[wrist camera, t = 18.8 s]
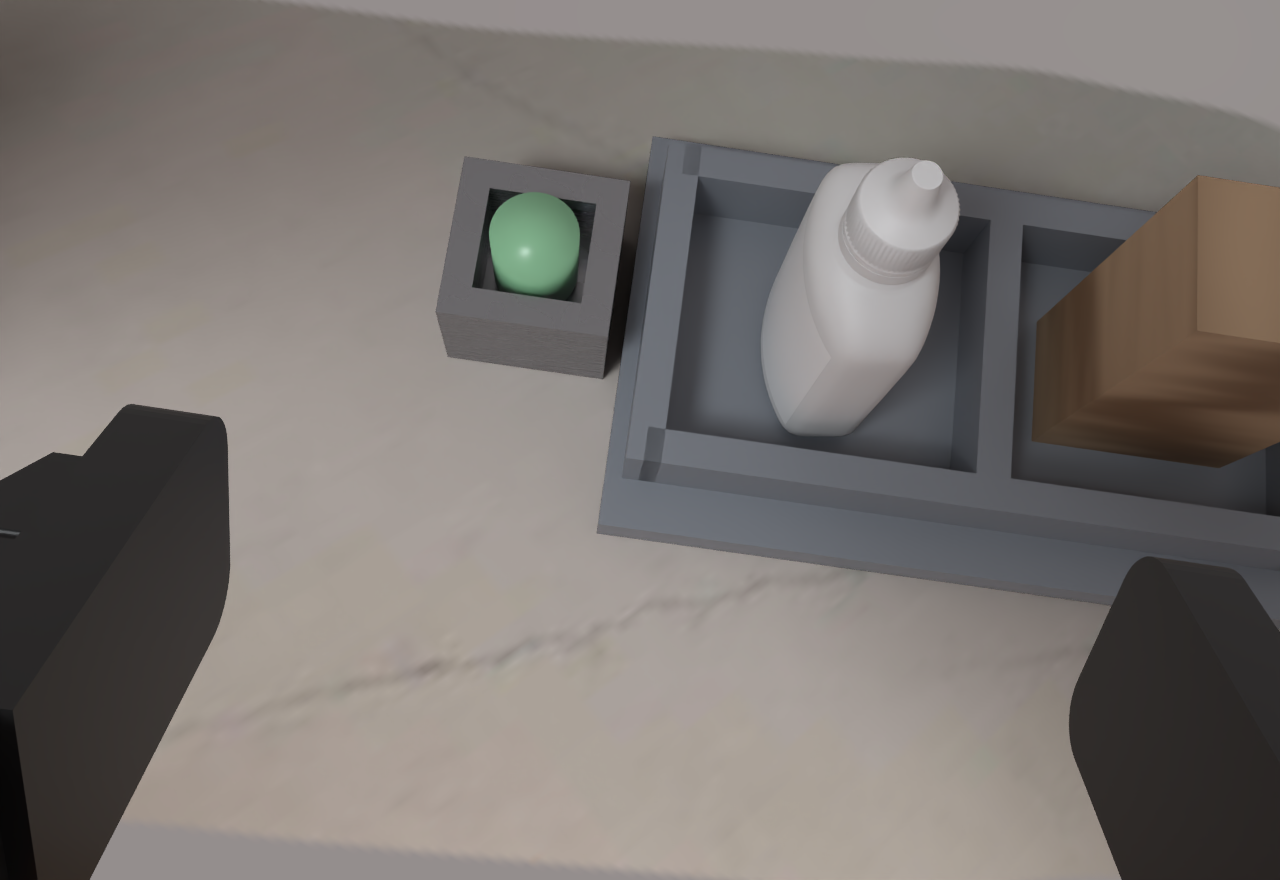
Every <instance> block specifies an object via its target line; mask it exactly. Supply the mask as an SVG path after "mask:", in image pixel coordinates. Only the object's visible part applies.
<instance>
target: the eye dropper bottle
mask: <svg viewBox="0 0 1280 880" xmlns="http://www.w3.org/2000/svg"><path fill="white" fill-rule="evenodd" d="M957 196H958V194H957V193H956V189H955V188H954V185H953V184H952V183H951V181H950V180H949V179H948V177H947V176H946V175H944V173H943V172H942V169H941V168H940V167H939V165H937V164H936V163H934V162H932V161H928V160H924V161H922V160H921V159H916V158H910V157H909V158H906V157H903V158H901V157H898V158H893V159H888V160H887V161H883V162H882V163H845V164H842V165H839V166H836V167H834V168H833V169H832V170H831V171H830V172H828V173H827V174H826V176H825V177H824V178H823V180H822V182H821V183H820V185H819V187H818V189H817V191H816V193H815V195H814V197H813V199H812V201H811V203H810V205H809V207H808V209H807V211H806V213H805V215H804V218H803V220H802V222H801V224H800V226H799V228H798V230H797V233H796V235H795V237H794V239H793V241H792V243H791V246H790V248H789V250H788V252H787V254H786V257H785V259H784V261H783V263H782V265H781V268H780V270H779V272H778V274H777V276H776V279H775V281H774V283H773V286H772V288H771V291H770V294H769V297H768V300H767V304H766V308H765V312H764V317H763V323H762V331H761V362H762V370H763V375H764V380H765V384H766V388H767V391H768V395H769V398H770V400H771V403H772V406H773V408H774V411H775V413H776V415H777V417H778V419H779V421H780V423H781V424H782V426H783V427H784V428H785V429H786V430H787V431H788V432H789V433H791V434H794V435H798V436H821V437H836V436H844V435H848V434H850V433H852V432H853V430H854V429H855V428H856V427H857V426H858V425H859V424H860V423H861V422H862V421H863V420H864V419H865V417H866V416H867V415H868V414H869V413H870V412H871V411H872V410H873V409H874V407H875V406H876V405H877V404H878V403H879V402H880V401H881V400H882V399H883V397H884V396H885V395H886V394H887V393H888V392H889V391H890V390H891V388H892V387H893V386H894V385H895V384H896V383H897V382H898V380H899V379H900V378H901V377H902V376H903V375H904V374H905V373H906V371H907V370H908V369H909V368H910V366H911V365H912V364H913V363H914V361H915V360H916V359H917V357H918V355H919V353H920V351H921V349H922V347H923V345H924V343H925V340H926V338H927V335H928V333H929V330H930V326H931V323H932V320H933V317H934V313H935V309H936V304H937V298H938V291H939V282H940V257H939V252H940V251H941V249H942V248H943V247H944V245H945V244H946V243H947V241H948V240H949V239H950V237H951V236H952V235H953V232H954V231H955V230H956V227H957V225H958V221H959V216H960V213H959V211H960V208H959V206H960V203H959V202H958V201H959V198H958V197H957Z"/></svg>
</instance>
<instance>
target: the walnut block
mask: <svg viewBox="0 0 1280 880" xmlns="http://www.w3.org/2000/svg"><path fill="white" fill-rule="evenodd" d="M1032 441H1033V442H1040V443H1047V444H1054V445H1061V446H1068V447H1075V448H1082V449H1089V450H1095V451H1102V452H1109V453H1116V454H1123V455H1130V456H1137V457H1144V458H1151V459H1158V460H1165V461H1172V462H1179V463H1186V464H1193V465H1200V466H1207V467H1213V468H1221V467H1223V466H1226V465H1228V464H1230V463H1233V462H1235V461H1237V460H1239V459H1242V458H1244V457H1246V456H1249V455H1251V454H1253V453H1255V452H1258V451H1260V450H1262V449H1265V448H1267V447H1269V446H1271V445H1274V444H1276V443H1278V442H1280V188H1279V187H1272V186H1266V185H1259V184H1253V183H1246V182H1239V181H1233V180H1226V179H1220V178H1213V177H1207V176H1200V175H1198V176H1197V177H1196V178H1194V179H1193V180H1192V181H1191V182H1190V183H1189V184H1188V185H1187V186H1186V187H1185V188H1183V189H1182V190H1181V191H1180V192H1179V193H1178V194H1177V195H1176V196H1175V197H1174V198H1172V199H1171V200H1170V201H1169V202H1168V203H1167V204H1166V205H1165V206H1164V207H1163V208H1161V209H1160V210H1159V211H1158V212H1157V213H1156V214H1155V215H1154V216H1153V217H1152V218H1150V219H1149V220H1148V221H1147V222H1146V223H1145V224H1144V225H1143V226H1142V227H1141V228H1139V229H1138V230H1137V231H1136V232H1135V233H1134V234H1133V235H1132V236H1131V237H1130V238H1128V239H1127V240H1126V241H1125V242H1124V243H1123V244H1122V245H1121V246H1120V247H1119V248H1117V249H1116V250H1115V251H1114V252H1113V253H1112V254H1111V255H1110V256H1109V257H1108V258H1106V259H1105V260H1104V261H1103V262H1102V263H1101V264H1100V265H1099V266H1098V267H1097V268H1095V269H1094V270H1093V271H1092V272H1091V273H1090V274H1089V275H1088V276H1087V277H1086V278H1084V279H1083V280H1082V281H1081V282H1080V283H1079V284H1078V285H1077V286H1076V287H1075V288H1073V289H1072V290H1071V291H1070V292H1069V293H1068V294H1067V295H1066V296H1065V297H1064V298H1062V299H1061V300H1060V301H1059V302H1058V303H1057V304H1056V305H1055V306H1054V307H1053V308H1051V309H1050V310H1049V311H1048V312H1047V313H1046V314H1045V315H1044V316H1043V317H1042V318H1040V319H1039V320H1038V321H1037V329H1036V352H1035V375H1034V397H1033V420H1032Z"/></svg>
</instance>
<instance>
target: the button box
mask: <svg viewBox="0 0 1280 880" xmlns="http://www.w3.org/2000/svg"><path fill="white" fill-rule="evenodd" d="M629 188H630V181H626V180H620V179H613V178H606V177H600V176H593V175H586V174H579V173H573V172H566V171H559V170H553V169H546V168H539V167H533V166H526V165H519V164H512V163H506V162H499V161H492V160H486V159H479V158H472V157H466V156H465V157H464V162H463V168H462V173H461V179H460V184H459V189H458V195H457V200H456V205H455V211H454V216H453V222H452V227H451V232H450V238H449V243H448V248H447V254H446V259H445V264H444V270H443V275H442V281H441V286H440V291H439V297H438V302H437V307H436V315H437V318H438V322H439V326H440V330H441V333H442V337H443V341H444V344H445V348H446V352H447V355H448V357H453V358H460V359H467V360H474V361H481V362H488V363H495V364H502V365H509V366H516V367H523V368H530V369H537V370H544V371H550V372H557V373H564V374H571V375H578V376H585V377H592V378H599V379H603V374H604V367H605V360H606V353H607V346H608V339H609V332H610V325H611V318H612V311H613V304H614V297H615V291H616V284H617V277H618V270H619V263H620V256H621V249H622V242H623V235H624V227H625V219H626V211H627V204H628V196H629ZM528 192H540V193H545V194H549V195H552V196H554V197H556V198H558V199H560V200H561V201H563V202H564V203H565V204H566V205H567V206H568V207H569V208H570V209H571V210H572V212H573V213H574V215H575V217H576V218H577V221H578V224H579V229H580V243H579V266H578V279H577V283H576V286H575V288H574V290H573V292H572V293H571V295H570V296H569V297H568V298H567V299H566V300H565V301H562V300H555V299H548V298H541V297H534V296H527V295H521V294H514V293H507V292H500V291H499V289H498V287H497V285H496V282H495V277H494V270H493V263H492V255H491V247H490V240H489V228H490V223H491V220H492V218H493V216H494V214H495V212H496V211H497V209H498V208H499V207H500V206H501V205H502V204H503V203H504V202H506V201H507V200H508V199H510V198H512V197H514V196H516V195H519V194H523V193H528Z"/></svg>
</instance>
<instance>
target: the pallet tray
mask: <svg viewBox="0 0 1280 880" xmlns="http://www.w3.org/2000/svg"><path fill="white" fill-rule="evenodd" d="M839 165H840V164H833V163H826V162H820V161H813V160H806V159H800V158H793V157H786V156H780V155H773V154H767V153H760V152H753V151H747V150H740V149H733V148H727V147H720V146H713V145H707V144H700V143H694V142H687V141H680V140H674V139H667V138H660V137H654V136H653V139H652V146H651V152H650V159H649V166H648V173H647V180H646V187H645V194H644V201H643V208H642V215H641V222H640V230H639V237H638V244H637V251H636V258H635V265H634V272H633V279H632V286H631V293H630V301H629V308H628V315H627V322H626V329H625V336H624V343H623V350H622V357H621V364H620V371H619V379H618V386H617V393H616V400H615V407H614V414H613V421H612V428H611V435H610V442H609V450H608V457H607V464H606V471H605V478H604V485H603V492H602V499H601V506H600V513H599V521H598V528H597V533H599V534H606V535H613V536H620V537H627V538H634V539H641V540H649V541H656V542H663V543H670V544H677V545H684V546H691V547H699V548H706V549H713V550H720V551H727V552H734V553H741V554H749V555H756V556H763V557H770V558H777V559H784V560H791V561H799V562H806V563H813V564H820V565H827V566H834V567H841V568H849V569H856V570H863V571H870V572H877V573H884V574H891V575H899V576H906V577H913V578H920V579H927V580H934V581H941V582H949V583H956V584H963V585H970V586H977V587H984V588H991V589H999V590H1006V591H1013V592H1020V593H1027V594H1034V595H1041V596H1049V597H1056V598H1063V599H1070V600H1077V601H1084V602H1091V603H1099V604H1106V605H1112V604H1113V602H1114V600H1115V598H1116V596H1117V593H1118V591H1119V589H1120V587H1121V585H1122V582H1123V580H1124V578H1125V576H1126V574H1127V572H1128V571H1129V570H1130V568H1131V567H1132V565H1133V564H1134V563H1135V562H1136V561H1138V560H1139V559H1141V558H1143V557H1146V556H1150V557H1158V558H1165V559H1172V560H1178V561H1185V562H1192V563H1199V564H1206V565H1212V566H1219V567H1226V568H1231V569H1233V570H1235V571H1237V572H1238V573H1239V574H1240V575H1241V576H1242V577H1243V578H1244V580H1245V581H1246V583H1247V584H1248V586H1249V587H1250V589H1251V590H1252V591H1253V593H1254V594H1255V596H1256V597H1257V599H1258V600H1259V602H1260V603H1261V605H1262V606H1263V608H1264V609H1265V611H1266V612H1267V614H1268V615H1269V617H1270V618H1271V620H1272V621H1273V623H1274V624H1275V626H1276V627H1277V629H1280V442H1278V443H1276V444H1274V445H1271V446H1269V447H1267V448H1265V449H1262V450H1260V451H1258V452H1255V453H1253V454H1251V455H1249V456H1246V457H1244V458H1242V459H1239V460H1237V461H1235V462H1233V463H1230V464H1228V465H1226V466H1223V467H1221V468H1213V467H1207V466H1200V465H1193V464H1186V463H1179V462H1172V461H1165V460H1158V459H1151V458H1144V457H1137V456H1130V455H1123V454H1116V453H1109V452H1102V451H1095V450H1089V449H1082V448H1075V447H1068V446H1061V445H1054V444H1047V443H1040V442H1033V441H1032V420H1033V397H1034V375H1035V352H1036V329H1037V321H1038V320H1039V319H1040V318H1042V317H1043V316H1044V315H1045V314H1046V313H1047V312H1048V311H1049V310H1050V309H1051V308H1053V307H1054V306H1055V305H1056V304H1057V303H1058V302H1059V301H1060V300H1061V299H1062V298H1064V297H1065V296H1066V295H1067V294H1068V293H1069V292H1070V291H1071V290H1072V289H1073V288H1075V287H1076V286H1077V285H1078V284H1079V283H1080V282H1081V281H1082V280H1083V279H1084V278H1086V277H1087V276H1088V275H1089V274H1090V273H1091V272H1092V271H1093V270H1094V269H1095V268H1097V267H1098V266H1099V265H1100V264H1101V263H1102V262H1103V261H1104V260H1105V259H1106V258H1108V257H1109V256H1110V255H1111V254H1112V253H1113V252H1114V251H1115V250H1116V249H1117V248H1119V247H1120V246H1121V245H1122V244H1123V243H1124V242H1125V241H1126V240H1127V239H1128V238H1130V237H1131V236H1132V235H1133V234H1134V233H1135V232H1136V231H1137V230H1138V229H1139V228H1141V227H1142V226H1143V225H1144V224H1145V223H1146V222H1147V221H1148V220H1149V219H1150V218H1152V217H1153V216H1154V215H1155V214H1156V213H1157V212H1151V211H1145V210H1138V209H1132V208H1125V207H1118V206H1112V205H1105V204H1098V203H1092V202H1085V201H1078V200H1072V199H1065V198H1059V197H1052V196H1045V195H1039V194H1032V193H1025V192H1019V191H1012V190H1005V189H999V188H992V187H986V186H979V185H972V184H966V183H959V182H952V181H951V183H952V184H953V185H954V188H955V189H956V193H957V194H958V196H957V197H958V198H959V201H958V202H959V203H960V206H959V208H960V211H959V213H960V216H959V221H958V225H957V227H956V230H955V231H954V232H953V235H952V236H951V237H950V239H949V240H948V241H947V243H946V244H945V245H944V247H943V248H942V249H941V251H940V252H939V257H940V282H939V291H938V298H937V304H936V309H935V313H934V317H933V320H932V323H931V326H930V330H929V333H928V335H927V338H926V340H925V343H924V345H923V347H922V349H921V351H920V353H919V355H918V357H917V359H916V360H915V361H914V363H913V364H912V365H911V366H910V368H909V369H908V370H907V371H906V373H905V374H904V375H903V376H902V377H901V378H900V379H899V380H898V382H897V383H896V384H895V385H894V386H893V387H892V388H891V390H890V391H889V392H888V393H887V394H886V395H885V396H884V397H883V399H882V400H881V401H880V402H879V403H878V404H877V405H876V406H875V407H874V409H873V410H872V411H871V412H870V413H869V414H868V415H867V416H866V417H865V419H864V420H863V421H862V422H861V423H860V424H859V425H858V426H857V427H856V428H855V429H854V430H853V432H852V433H850V434H848V435H844V436H836V437H821V436H798V435H794V434H791V433H789V432H788V431H787V430H786V429H785V428H784V427H783V426H782V424H781V423H780V421H779V419H778V417H777V415H776V413H775V411H774V408H773V406H772V403H771V400H770V398H769V395H768V391H767V388H766V384H765V380H764V375H763V370H762V362H761V331H762V323H763V317H764V312H765V308H766V304H767V300H768V297H769V294H770V291H771V288H772V286H773V283H774V281H775V279H776V276H777V274H778V272H779V270H780V268H781V265H782V263H783V261H784V259H785V257H786V254H787V252H788V250H789V248H790V246H791V243H792V241H793V239H794V237H795V235H796V233H797V230H798V228H799V226H800V224H801V222H802V220H803V218H804V215H805V213H806V211H807V209H808V207H809V205H810V203H811V201H812V199H813V197H814V195H815V193H816V191H817V189H818V187H819V185H820V183H821V182H822V180H823V178H824V177H825V176H826V174H827V173H828V172H830V171H831V170H832V169H833V168H834V167H836V166H839Z"/></svg>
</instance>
